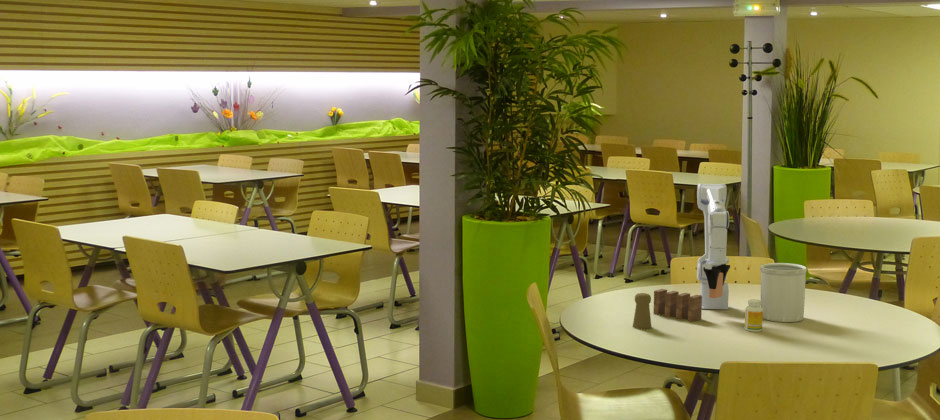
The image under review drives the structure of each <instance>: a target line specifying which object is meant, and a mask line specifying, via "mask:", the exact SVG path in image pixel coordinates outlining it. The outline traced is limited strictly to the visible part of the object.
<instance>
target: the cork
mask: <svg viewBox="0 0 940 420" xmlns="http://www.w3.org/2000/svg"><path fill="white" fill-rule="evenodd" d="M651 297H652V296H651V295H650V293H646V292H640V293H639V292H638V293H636V294H635V296H634V302H635V310H634V317H633V323H632V328H634V329H636V330H650V328H651V329H652V317H651V309H650V303H652V298H651Z"/></svg>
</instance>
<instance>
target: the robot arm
mask: <svg viewBox="0 0 940 420" xmlns="http://www.w3.org/2000/svg"><path fill="white" fill-rule="evenodd" d="M696 190H697V191H696V198H697V200H696V201H697V208H698V209H699V210H700V211H702V213H703V216H704V217H703V218H704V254H703V255H702V256H701V257H699V258H698V259H697V261H696V262H697V263H696V265H697V266H696V278H697V280H698V281H699V282H700V294H699V295H702V310H729V296H730V295H729V292H730V291H729V284H728V282H726V280H727V277H728V276H727V274H728V272H729V270H730V269H731V265H730V264H729V261H730V260H729V259H730V258H729V257H727V245H728V244H727V241H728V229H729V226H730V214H729V211H728V210H726V207H725V206H726V200H727V193H728V190H727V185H726V184H725V183H701V182H699V183H698V184H697V187H696ZM720 272H721V273H723V292H722V297H718V298H709V293H710V289H716V287H717V280H718V276H719V273H720Z"/></svg>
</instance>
